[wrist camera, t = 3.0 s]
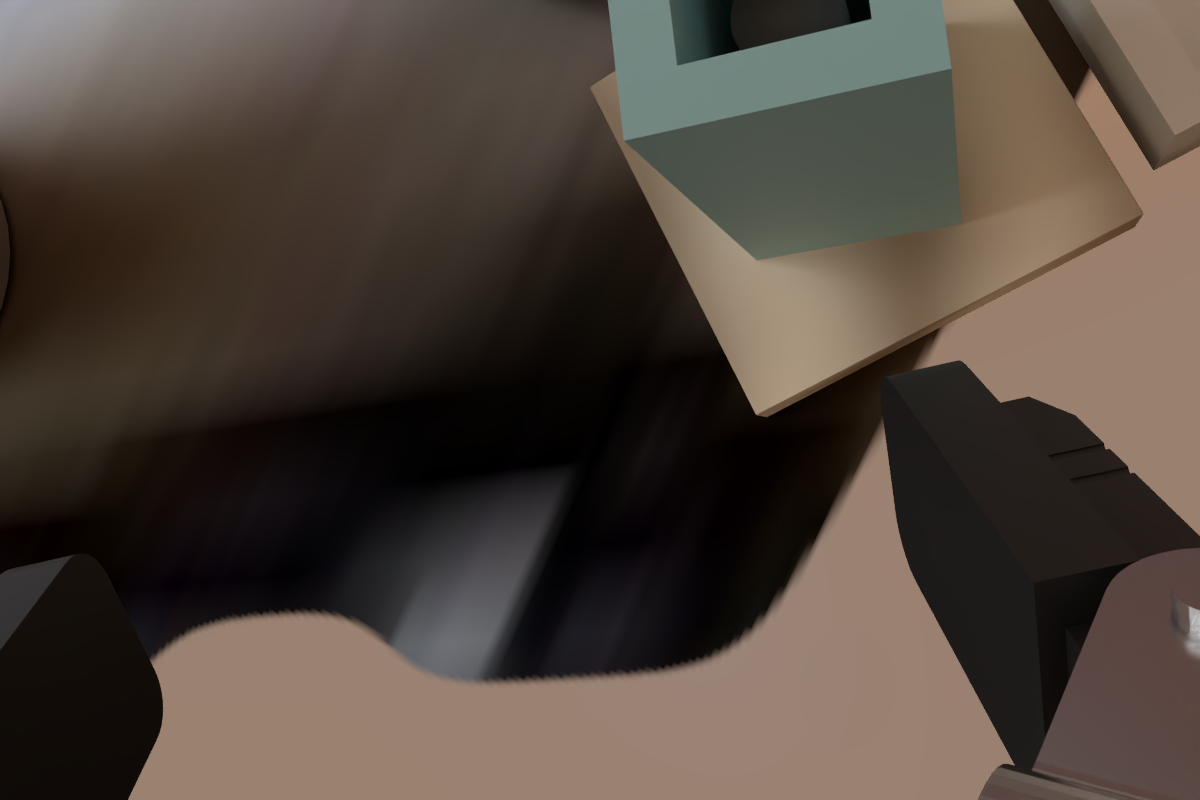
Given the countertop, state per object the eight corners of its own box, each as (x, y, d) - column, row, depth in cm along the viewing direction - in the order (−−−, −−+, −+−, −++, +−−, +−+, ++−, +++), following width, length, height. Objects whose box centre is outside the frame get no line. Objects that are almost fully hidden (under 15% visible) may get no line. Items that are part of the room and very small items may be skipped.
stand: (766, 416, 29) (664, 396, 19) (607, 104, 31) (444, -53, 21) (1134, 227, 26) (1223, 96, 17) (934, -103, 28) (913, -387, 19)
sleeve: (961, 224, 26) (951, 68, 16) (756, 260, 28) (623, 140, 17) (933, 24, 26) (904, -256, 16) (733, 71, 28) (590, -157, 18)
